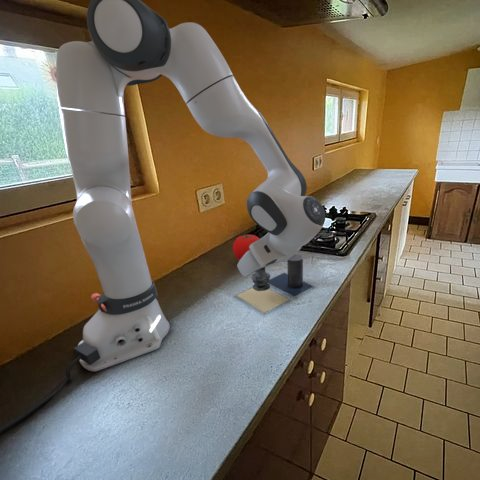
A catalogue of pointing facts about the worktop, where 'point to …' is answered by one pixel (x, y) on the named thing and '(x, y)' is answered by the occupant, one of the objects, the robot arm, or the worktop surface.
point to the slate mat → (282, 284)
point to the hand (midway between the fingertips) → (258, 267)
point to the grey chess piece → (261, 280)
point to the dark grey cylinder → (295, 271)
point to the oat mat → (262, 299)
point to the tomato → (243, 245)
